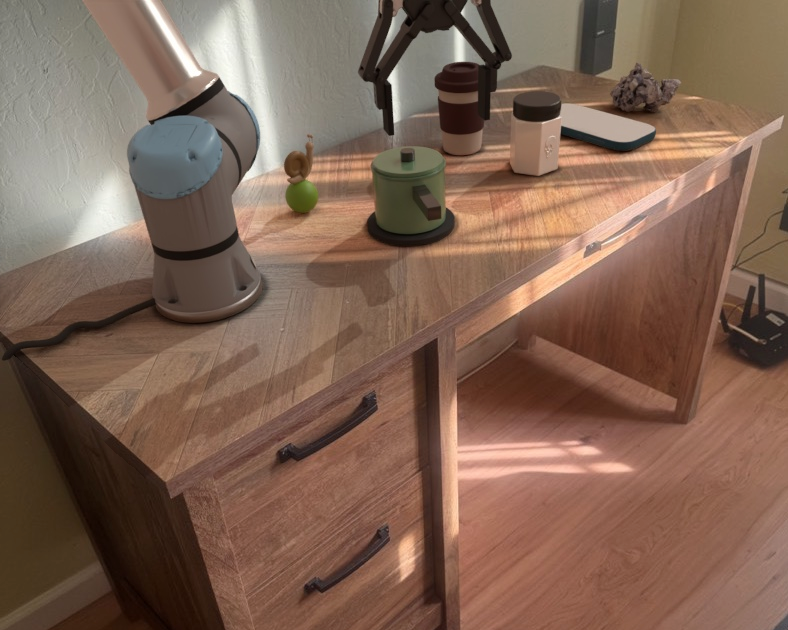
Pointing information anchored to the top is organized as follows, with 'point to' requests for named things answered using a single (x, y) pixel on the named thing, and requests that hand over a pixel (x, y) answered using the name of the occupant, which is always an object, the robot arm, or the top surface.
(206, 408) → the top surface
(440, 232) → the trivet
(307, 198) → the snail figurine
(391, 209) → the pot
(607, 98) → the top surface
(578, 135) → the external hard drive
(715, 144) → the top surface
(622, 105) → the mineral specimen
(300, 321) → the top surface
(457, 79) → the coffee cup
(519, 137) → the jar
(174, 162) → the robot arm
